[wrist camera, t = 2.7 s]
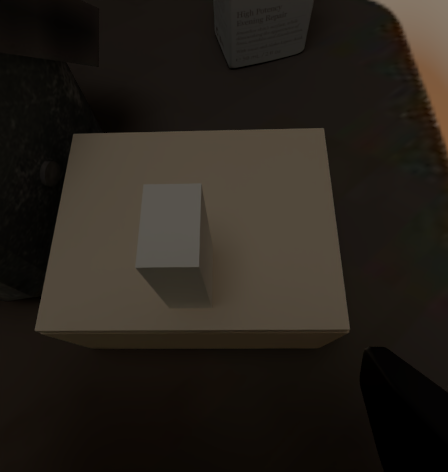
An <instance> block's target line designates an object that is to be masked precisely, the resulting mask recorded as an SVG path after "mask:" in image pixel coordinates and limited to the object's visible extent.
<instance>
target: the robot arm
mask: <svg viewBox="0 0 448 472" xmlns="http://www.w3.org/2000/svg"><path fill="white" fill-rule="evenodd" d="M360 386H361V391H362V394H363V398H364V402H365V406H366V410H367V413H368V417H369V421H370V425H371V428H372V432H373V436H374V440H375V444H376V447H377V451H378V454H379V458H380V461H381V464H382V467H383V469H384V472H448V392H446V391H445V390H444V389H442V388H441V387H440V386H438V385H437V384H435V383H434V382H433V381H431V380H430V379H429V378H427V377H426V376H424V375H423V374H422V373H420V372H419V371H418V370H416V369H415V368H413V367H412V366H411V365H409V364H408V363H407V362H405V361H404V360H402V359H401V358H400V357H398V356H397V355H396V354H394V353H393V352H391V351H390V350H389V349H387V348H385V347H367V348H365V350H364V353H363V359H362V365H361V372H360Z"/></svg>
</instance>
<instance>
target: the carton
mask: <svg viewBox="0 0 448 472" xmlns="http://www.w3.org/2000/svg"><path fill="white" fill-rule="evenodd" d="M347 333H349V330H348V331H346V332H190V333H40V334H42V335H46V336H49V337H53V338H57V339H60V340H64V341H67V342H71V343H74V344H78V345H81V346H85V347H89V348H92V349H266V348H320V347H322V346H324V345H326V344H328V343H330V342H332V341H334V340H336V339H338V338H340V337H342V336H344V335H346V334H347Z"/></svg>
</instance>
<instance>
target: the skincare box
mask: <svg viewBox="0 0 448 472" xmlns="http://www.w3.org/2000/svg"><path fill="white" fill-rule="evenodd" d="M313 2H314V0H213V3H214V22H215V34H216V36H217V39H218V41H219V44H220V46H221V49H222V51H223V54H224V56H225V58H226V61H227V63H228V66H229V68H238V67H243V66H248V65H253V64H257V63H262V62H267V61H271V60H275V59H279V58H283V57H287V56H291V55H295V54H298V53H300V52H301V51H303V50H304V47H305V42H306V37H307V32H308V27H309V22H310V17H311V12H312V7H313Z"/></svg>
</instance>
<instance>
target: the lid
mask: <svg viewBox="0 0 448 472" xmlns="http://www.w3.org/2000/svg"><path fill="white" fill-rule="evenodd" d="M348 330H350V326H349V318H348V311H347V303H346V295H345V288H344V280H343V272H342V264H341V257H340V249H339V241H338V234H337V226H336V218H335V210H334V203H333V195H332V187H331V180H330V172H329V164H328V156H327V149H326V141H325V133H324V128H310V129H266V130H221V131H177V132H132V133H88V134H73V138H72V143H71V149H70V154H69V159H68V164H67V169H66V174H65V179H64V184H63V189H62V194H61V199H60V205H59V210H58V215H57V220H56V225H55V230H54V235H53V240H52V245H51V250H50V255H49V261H48V266H47V271H46V276H45V281H44V286H43V291H42V296H41V301H40V306H39V311H38V317H37V322H36V327H35V331H37V332H40V333H190V332H346V331H348Z"/></svg>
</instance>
